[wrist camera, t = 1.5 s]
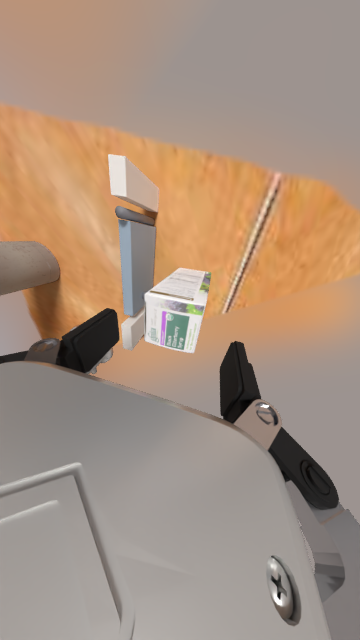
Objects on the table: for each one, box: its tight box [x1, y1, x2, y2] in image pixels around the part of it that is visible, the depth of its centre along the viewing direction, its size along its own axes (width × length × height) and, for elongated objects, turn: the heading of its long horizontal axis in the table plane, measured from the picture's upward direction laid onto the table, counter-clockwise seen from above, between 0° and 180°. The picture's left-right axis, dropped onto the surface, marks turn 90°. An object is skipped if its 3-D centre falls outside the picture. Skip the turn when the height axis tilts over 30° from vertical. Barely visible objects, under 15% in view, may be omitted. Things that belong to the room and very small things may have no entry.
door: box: [115, 206, 156, 316], centre depth 21 cm, size 13×2×9 cm, turn 171°
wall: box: [108, 154, 159, 350], centre depth 22 cm, size 23×2×9 cm, turn 171°
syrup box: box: [144, 268, 211, 353], centre depth 19 cm, size 6×6×14 cm
